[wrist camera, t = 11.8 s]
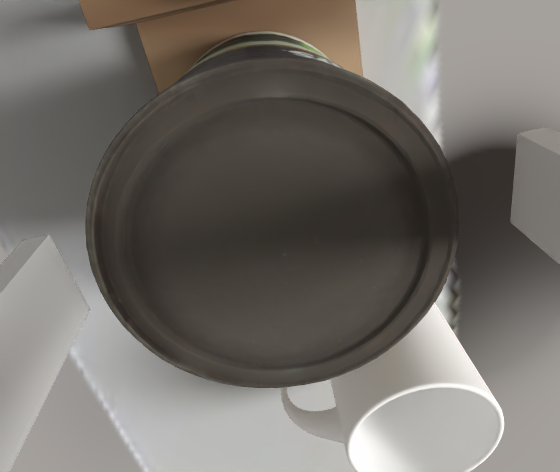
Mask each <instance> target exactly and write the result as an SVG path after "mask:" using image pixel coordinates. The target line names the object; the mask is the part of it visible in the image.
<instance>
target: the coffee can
mask: <svg viewBox="0 0 560 472" xmlns="http://www.w3.org/2000/svg"><path fill="white" fill-rule="evenodd" d="M458 233H459V200H458V195H457V190H456V186H455V182H454V178H453V175H452V172H451V169H450V167H449V164H448V162H447V160H446V159H445V156H444V154H443V152H442V150H441V148H440V146H439V144H438V143H437V141H436V140H435V138H434V137H433V135H432V134H431V133H430V131H429V130H428V129H427V128H426V126H425V125H424V124H423V122H422V121H421V120H420V119H419V118H418V117H417V116H416V115H415V114H414V113H413V112H412V111H411V110H410V109H409V108H408V107H407V106H406V105H405V104H404V103H403V102H402V101H401V100H399V99H398V98H397V97H395V96H394V95H392V94H391V93H389V92H388V91H386V90H385V89H383V88H382V87H380V86H378V85H377V84H375V83H373V82H372V81H370V80H368V79H366V78H364V77H362V76H360V75H357V74H355V73H353V72H350V71H348V70H346V69H344V68H343V67H341V66H339V65H337V64H336V63H334V62H333V61H331V60H330V59H329V58H328V57H327V56H326V55H324V54H323V53H322V52H321V51H319V50H318V49H317V48H315V47H314V46H312V45H311V44H309V43H307V42H305V41H303V40H301V39H299V38H296V37H294V36H291V35H287V34H283V33H278V32H271V31H256V32H248V33H243V34H239V35H236V36H233V37H231V38H228V39H226V40H224V41H222V42H220V43H218V44H216V45H215V46H214V47H212V48H211V49H209V50H208V51H207V52H206V53H204V54H203V55H202V56H201V57H200V58H199V59H198V60H197V61H196V62H195V63H194V64H193V66H192V67H191V68H190V70H189V71H188V72H187V73H185V74H184V75H183V76H182V77H181V78H180V79H179V80H178V81H177V82H175V83H174V84H173V85H171V86H170V87H168V88H166V89H165V90H164V91H162V92H161V93H160V94H158V95H157V96H156V97H154V98H153V99H152V100H150V101H149V102H148V103H147V104H146V105H144V106H143V107H142V108H141V109H140V110H139V111H138V112H137V113H136V114H135V115H134V116H133V117H132V118H131V119H130V120H129V121H128V122H127V123H126V124H125V126H124V127H123V128H122V129H121V131H120V132H119V133H118V134H117V136H116V137H115V139H114V140H113V142H112V143H111V144H110V146H109V148H108V149H107V151H106V153H105V154H104V156H103V158H102V160H101V162H100V164H99V166H98V169H97V171H96V174H95V177H94V179H93V182H92V186H91V190H90V194H89V198H88V202H87V213H86V245H87V251H88V255H89V261H90V265H91V269H92V272H93V275H94V277H95V280H96V282H97V284H98V287H99V289H100V291H101V293H102V295H103V297H104V299H105V301H106V302H107V304H108V306H109V307H110V309H111V310H112V312H113V313H114V315H115V316H116V317H117V318H118V320H119V321H120V322H121V324H122V325H123V326H124V327H125V328H126V329H127V330H128V331H129V332H130V333H131V334H132V335H133V336H134V337H135V338H136V339H137V340H138V341H139V342H141V343H142V344H143V345H144V346H145V347H146V348H147V349H149V350H150V351H151V352H153V353H154V354H156V355H157V356H158V357H160V358H161V359H163V360H164V361H166V362H168V363H170V364H172V365H174V366H175V367H177V368H180V369H182V370H184V371H186V372H189V373H191V374H194V375H196V376H199V377H202V378H205V379H208V380H212V381H216V382H219V383H224V384H229V385H235V386H242V387H254V388H282V387H290V386H298V385H306V384H311V383H316V382H320V381H325V380H328V379H331V378H335V377H338V376H340V375H343V374H345V373H348V372H350V371H353V370H355V369H357V368H360V367H362V366H363V365H365V364H367V363H369V362H371V361H373V360H374V359H376V358H378V357H379V356H381V355H382V354H383V353H385V352H386V351H388V350H389V349H390V348H392V347H393V346H394V345H396V344H397V343H398V342H399V341H400V340H401V339H403V338H404V337H405V336H406V335H407V334H408V333H409V332H410V331H411V330H412V329H413V328H414V327H415V326H416V325H417V324H418V323H419V322H420V321H421V320H422V319H423V317H424V316H425V315H426V314H427V313H428V311H429V310H430V308H431V307H432V305H433V304H434V303H435V301H436V300H437V298H438V296H439V295H440V293H441V291H442V289H443V286H444V284H445V283H446V280H447V277H448V274H449V272H450V269H451V267H452V264H453V260H454V256H455V253H456V246H457V240H458Z"/></svg>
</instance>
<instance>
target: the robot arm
mask: <svg viewBox="0 0 560 472" xmlns="http://www.w3.org/2000/svg"><path fill="white" fill-rule="evenodd" d="M511 223H512V224H513V225H514V226H516V227H517V228H518V229H519V230H520V231H521V232H523V233H524V234H525V235H526V236H527V237H528V238H530V239H531V240H532V241H533V242H534V243H535V244H537V245H538V246H539V247H540V248H541V249H543V250H544V251H545V252H546V253H547V254H548V255H549V256H550V257H552V258H553V259H554V260H555V261H556V262H557V263H559V264H560V133H558V132H556V131H554V130H551V129H549V128H547V127H545V128H541V129H536V130H531V131H526V132H522V133H518V135H517V147H516V160H515V173H514V185H513V198H512V211H511ZM89 311H90V308H89V306H88V304H87V303H86V301H85V299H84V297H83V295H82V293H81V292H80V290H79V288H78V286H77V284H76V282H75V281H74V279H73V277H72V275H71V273H70V272H69V270H68V268H67V266H66V264H65V262H64V261H63V259H62V257H61V255H60V253H59V251H58V250H57V248H56V246H55V244H54V242H53V240H52V239H51V237H50V235H49V234H48V235H44V236H39V237H34V238H30V239H25V240H23V241H22V242H21V243H20V244H19V245H18V246H17V247H16V248H15V249H14V250H13V251H12V253H11V254H10V255H9V256H8V257H7V258H6V259H5V260H4V261H3V262H2V264H1V265H0V472H10V470H11V468H12V466H13V464H14V462H15V460H16V458H17V456H18V454H19V451H20V450H21V448H22V446H23V444H24V442H25V440H26V438H27V436H28V434H29V432H30V430H31V428H32V426H33V424H34V421H35V420H36V418H37V415H38V414H39V412H40V410H41V408H42V405H43V404H44V401H45V399H46V397H47V395H48V393H49V391H50V389H51V387H52V385H53V383H54V381H55V379H56V377H57V375H58V373H59V371H60V369H61V367H62V365H63V363H64V361H65V359H66V357H67V355H68V353H69V351H70V349H71V347H72V345H73V343H74V341H75V339H76V337H77V335H78V333H79V331H80V329H81V327H82V325H83V323H84V321H85V319H86V317H87V315H88V313H89Z"/></svg>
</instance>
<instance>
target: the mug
mask: <svg viewBox="0 0 560 472" xmlns="http://www.w3.org/2000/svg"><path fill="white" fill-rule="evenodd" d="M330 380H331V385H332V389H333V394H334V399H335V403H336V407H334V408H332V409H328V410H324V411H306V410H303V409H300V408H298V407H296V406H295V405H294V404H293V403H292V402H291V401H290V399H289V397H288V394H287V387H282V388H281V398H282V403H283V406H284V409H285V411H286V413H287V414H288V416H289V418H290V419H291V420H292V421H293V422H294V423H295V424H296V425H297V426H299V427H300V428H301V429H303V430H304V431H306V432H308V433H310V434H312V435H315V436H318V437H321V438H325V439H328V440H333V441H337V442H341V443H344V444H345V449H346V454H347V457H348V460H349V462H350V464H351V465H352V467H353V468H354V470H355V471H356V472H469V471H471V470H472V469H474V468H475V467H477V466H478V465H479V464H480V463H482V462H483V461H484V460H485V459H486V458H487V457H488V456H489V455H490V454H491V453H492V452H493V451H494V449H495V448H496V446H497V445H498V443H499V441H500V439H501V436H502V433H503V429H504V417H503V414H502V410H501V408H500V406H499V404H498V403H497V401H496V400H495V398H494V396H493V395H492V393H491V392H490V390H489V388H488V387H487V385H486V384H485V382H484V381H483V379H482V377H481V376H480V374H479V373H478V371H477V369H476V368H475V366H474V365H473V363H472V361H471V360H470V358H469V357H468V355H467V354H466V352H465V350H464V349H463V347H462V346H461V344H460V342H459V341H458V339H457V338H456V336H455V334H454V333H453V331H452V330H451V328H450V326H449V325H448V323H447V322H446V320H445V318H444V317H443V315H442V314H441V312H440V311H439V309H438V307H437V306H436V304H435V303H434V304H433V305H432V307H431V308H430V310H429V311H428V313H427V314H426V315H425V316H424V317H423V319H422V320H421V321H420V322H419V323H418V324H417V325H416V326H415V327H414V328H413V329H412V330H411V331H410V332H409V333H408V334H407V335H406V336H405V337H404V338H403V339H401V340H400V341H399V342H398V343H397V344H396V345H394V346H393V347H392V348H390V349H389V350H388V351H386V352H385V353H383V354H382V355H381V356H379V357H378V358H376V359H374V360H373V361H371V362H369V363H367V364H365V365H363V366H362V367H360V368H357V369H355V370H353V371H350V372H348V373H345V374H343V375H340V376H338V377H335V378H331V379H330Z"/></svg>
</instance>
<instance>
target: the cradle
mask: <svg viewBox="0 0 560 472" xmlns="http://www.w3.org/2000/svg"><path fill="white" fill-rule="evenodd" d="M78 1H79V3H80V6H81V9H82V11H83V14H84V17H85V19H86V22H87V25H88V27H89V30H94V29H101V28H108V27H115V26H122V25H129V24H136V26H137V29H138V32H139V35H140V38H141V41H142V44H143V47H144V51H145V54H146V57H147V60H148V63H149V66H150V69H151V72H152V75H153V78H154V81H155V84H156V87H157V90H158V93H159V94H160V93H161V92H162V91H164V90H165V89H166V88H168V87H170V86H171V85H173V84H174V83H175V82H177V81H178V80H179V79H180V78H181V77H182V76H183V75H184V74H185V73H187V72H188V71H189V70H190V68H191V67H192V66H193V64H194V63H195V62H196V61H197V60H198V59H199V58H200V57H201V56H202V55H203V54H204V53H206V52H207V51H208V50H209V49H211V48H212V47H214V46H215V45H216V44H218V43H220V42H222V41H224V40H226V39H228V38H231V37H233V36H236V35H239V34H243V33H248V32H256V31H271V32H278V33H283V34H287V35H291V36H294V37H296V38H299V39H301V40H303V41H305V42H307V43H309V44H311V45H312V46H314V47H315V48H317V49H318V50H319V51H321V52H322V53H323V54H324V55H326V56H327V57H328V58H329V59H330V60H331V61H333V62H334V63H336V64H337V65H339V66H341V67H343V68H344V69H346V70H348V71H350V72H353V73H355V74H357V75H360V76H362V77H363V71H362V61H361V51H360V42H359V32H358V22H357V13H356V3H355V0H78Z"/></svg>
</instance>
